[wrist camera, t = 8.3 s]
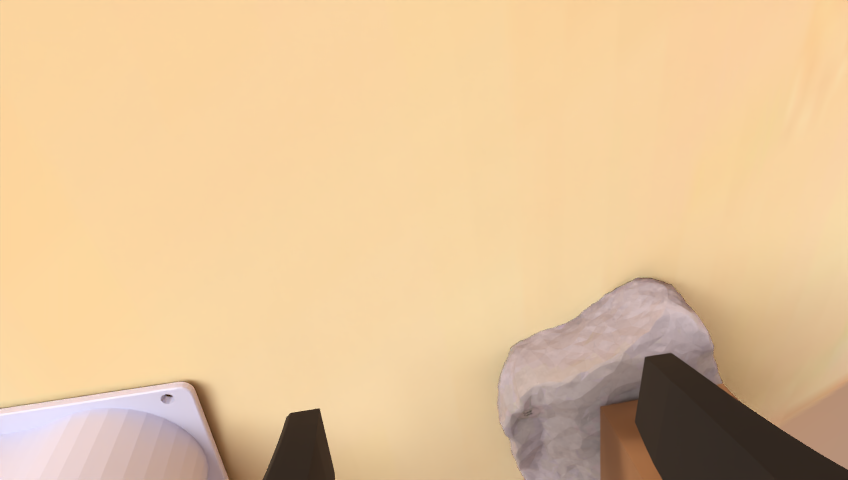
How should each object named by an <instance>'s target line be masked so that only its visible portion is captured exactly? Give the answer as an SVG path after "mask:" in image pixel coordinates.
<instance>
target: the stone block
mask: <svg viewBox="0 0 848 480" xmlns="http://www.w3.org/2000/svg"><path fill="white" fill-rule="evenodd" d="M713 351H714V345H713V343H712V340H711V337H710V334H709V332H708V330H707V329H706V327H705V326H704V324H703V323H702V321H701V319H700V318H699V317H698V315H697V314H696V313H695V312H694V311H693V310H692V308H691V307H690V306H689V305H688V304H687V303H686V302H685V300H684V299H683V297H682V296H681V294H679V293H678V292H677V291H676V290H675V288H674V287H673V286H672V285H670V284H666V283H665V282H662V281H658V280H655V279H652V278H636V279H634V280H632V281H630V282H627V283H626V284H624V285H622V286H620V287H618V288H616V289H615V290H613V291H612V292H611V293H607V294H605V295H604V296H603V297H602V298H601V299H600V300H599V301H597V302H596V303H594V304H592V305H591V306H589V307H588V308H587V309H585V310H584V311H582V312H581V314H580V315H579V316H578V317H576V318H575V319H573V320H571V321H569V322H567V323H565V324H562V325H560V326H557V327H554V328H550V329H546V330H543V331H540V332H538V333H536V334H534V335H532V336H531V337H529V338H527V339H525V340H522V341H519V342H518V343H516V344H515V345H514V346H512V347H511V349H510V352H509V354H508V358H507V360H506V362H505V364H504V366H503V369H502V372H501V375H500V379H499V383H498V402H497V405H498V411H499V419H500V424H501V425H502V428H503V431H504V433H505V435H506V436H507V437H508V438H509V440H510V443H511V451H512V455H513V456H514V458H515V461H516V463H517V467H518V469H519V471H521V474H522V476H523V477H524V479H525V480H600V407H602V406H607V405H612V404H617V403H623V402H628V401H633V400H638V398H639V391H640V385H641V378H642V372H643V366H644V359H645V357H647V356H653V355H660V354H666V353H672V354H674V355H675V356H677V357H678V358H680V359H681V360H682V361H684V362H685V363H687V364H688V365H689V366H691V367H692V368H694V369H695V370H696V371H698V372H699V373H701V374H702V375H703V376H705V377H706V378H707V379H709V380H710V381H712V382H713V383H714V384H716V385H718V384H723V383H722V380H721V378H720V375H719V373H718V368H717V364H716V362H715V360H714V357H713Z"/></svg>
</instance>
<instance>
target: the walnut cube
mask: <svg viewBox="0 0 848 480" xmlns="http://www.w3.org/2000/svg"><path fill="white" fill-rule="evenodd" d="M717 386H719V387H720V388H721V389H723V390H724V391H726V392H727V393H728V394H730V395H731V396H733V397H734V398H735V399H736V397H735V396H734V395H733V394H732V393H731V392H730V391H729V390H728V389H727V388H726V387H725V386H724V385H723V384H718V385H717ZM637 404H638V400H633V401H628V402H623V403H617V404H612V405H607V406H602V407H600V480H662V478H661V476H660V475H659V473H658V471H657V469H656V468H655V466H654V464H653V462H652V460H651V458H650V455H649V453H648V451H647V449H646V447H645V445H644V442H643V440H642V438H641V435H640V433H639V431H638V428H637V426H636V424H635V417H636V410H637Z"/></svg>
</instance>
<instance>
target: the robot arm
mask: <svg viewBox="0 0 848 480" xmlns="http://www.w3.org/2000/svg"><path fill="white" fill-rule="evenodd" d="M165 394H169V395H172V396H173V397H168V396H166V395H165ZM635 424H636V426H637V428H638V431H639V433H640V435H641V438H642V440H643V442H644V445H645V447H646V449H647V451H648V453H649V455H650V458H651V460H652V462H653V464H654V466H655V468H656V469H657V471H658V473H659V475H660V476H661V478H662V480H848V470H847V469H845V468H844V467H842V466H840V465H838V464H836V463H835V462H833V461H831V460H830V459H828V458H826V457H824V456H823V455H821V454H819V453H818V452H816V451H814V450H813V449H811V448H810V447H808V446H806V445H805V444H803V443H802V442H800V441H798V440H797V439H795V438H794V437H792V436H790V435H789V434H787V433H786V432H784V431H783V430H781V429H780V428H778V427H776V426H775V425H773V424H772V423H770V422H769V421H767V420H766V419H764V418H763V417H761V416H760V415H758V414H757V413H756V412H754V411H753V410H751V409H750V408H748V407H747V406H745V405H744V404H743V403H741V402H740V401H738V400H737V399H735V398H734V397H733V396H731V395H730V394H728V393H727V392H726V391H724V390H723V389H721V388H720V387H719V386H717V385H716V384H714V383H713V382H712V381H710V380H709V379H707V378H706V377H705V376H703V375H702V374H701V373H699V372H698V371H696V370H695V369H694V368H692V367H691V366H689V365H688V364H687V363H685V362H684V361H682V360H681V359H680V358H678V357H677V356H675V355H674V354H672V353H666V354H660V355H653V356H647V357H645V359H644V366H643V372H642V378H641V385H640V391H639V398H638V404H637V410H636V417H635ZM0 480H229V478H228V476H227V473H226V470H225V468H224V465H223V462H222V460H221V457H220V455H219V452H218V449H217V447H216V444H215V441H214V439H213V436H212V433H211V431H210V428H209V425H208V423H207V420H206V418H205V415H204V412H203V410H202V407H201V404H200V402H199V399H198V396H197V394H196V391H195V389H194V387H193V386H192V385H191V384H189V383H186V382H175V383H168V384H161V385H155V386H148V387H142V388H135V389H128V390H122V391H115V392H109V393H102V394H95V395H89V396H82V397H76V398H69V399H62V400H56V401H49V402H43V403H36V404H29V405H23V406H16V407H10V408H3V409H0ZM263 480H335V473H334V468H333V464H332V460H331V455H330V451H329V447H328V443H327V438H326V434H325V430H324V425H323V421H322V417H321V413H320V408H319V409H313V410H307V411H300V412H294V413H290V414H289V415H288V416H287V418H286V420H285V423H284V427H283V430H282V433H281V435H280V438H279V441H278V444H277V446H276V449H275V452H274V454H273V457H272V459H271V461H270V464H269V466H268V469H267V471H266V474H265V476H264V478H263Z"/></svg>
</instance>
